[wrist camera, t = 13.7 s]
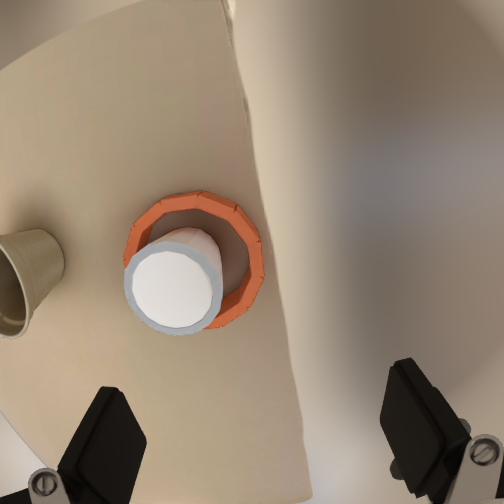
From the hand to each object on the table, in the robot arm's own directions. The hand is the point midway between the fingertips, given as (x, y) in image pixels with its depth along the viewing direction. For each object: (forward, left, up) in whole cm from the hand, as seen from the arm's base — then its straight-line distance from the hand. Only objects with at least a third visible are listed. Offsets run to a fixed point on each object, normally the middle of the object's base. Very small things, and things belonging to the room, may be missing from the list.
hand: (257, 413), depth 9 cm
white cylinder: (+5, 0, -18) cm, 18 cm away
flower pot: (+21, -2, -18) cm, 28 cm away
